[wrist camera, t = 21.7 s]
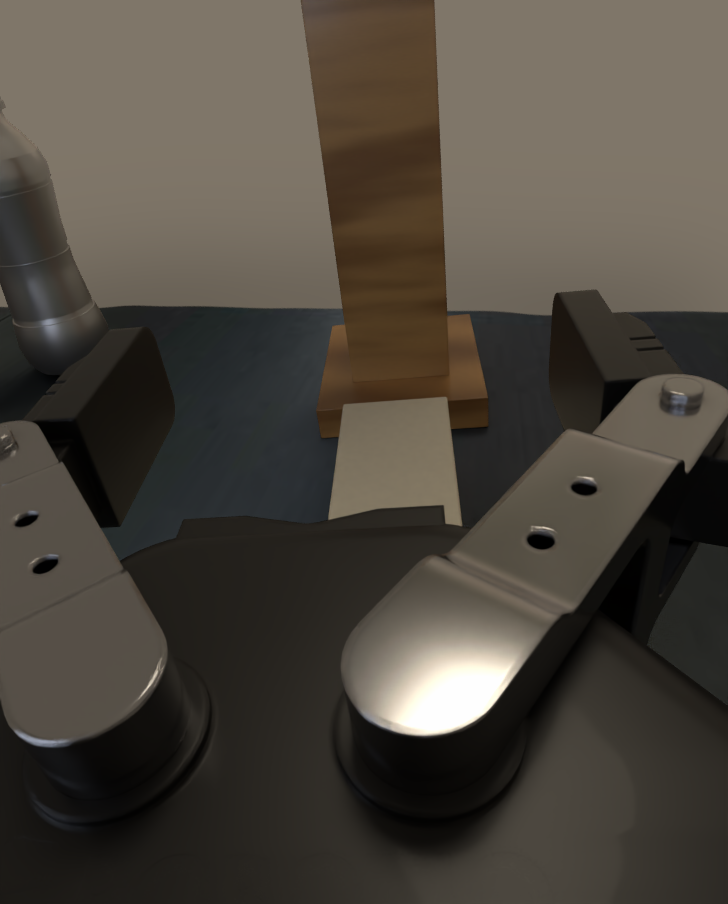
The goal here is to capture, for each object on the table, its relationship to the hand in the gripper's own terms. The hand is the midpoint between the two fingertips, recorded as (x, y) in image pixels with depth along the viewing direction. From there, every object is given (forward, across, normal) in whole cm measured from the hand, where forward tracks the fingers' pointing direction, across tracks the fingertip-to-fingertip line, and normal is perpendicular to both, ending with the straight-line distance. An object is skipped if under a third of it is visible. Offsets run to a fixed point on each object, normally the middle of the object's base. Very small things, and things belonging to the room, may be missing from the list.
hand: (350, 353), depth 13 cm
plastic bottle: (+34, +26, +16) cm, 46 cm away
